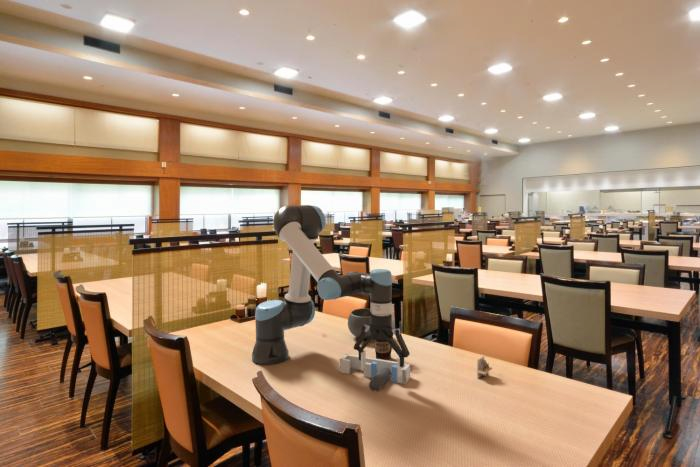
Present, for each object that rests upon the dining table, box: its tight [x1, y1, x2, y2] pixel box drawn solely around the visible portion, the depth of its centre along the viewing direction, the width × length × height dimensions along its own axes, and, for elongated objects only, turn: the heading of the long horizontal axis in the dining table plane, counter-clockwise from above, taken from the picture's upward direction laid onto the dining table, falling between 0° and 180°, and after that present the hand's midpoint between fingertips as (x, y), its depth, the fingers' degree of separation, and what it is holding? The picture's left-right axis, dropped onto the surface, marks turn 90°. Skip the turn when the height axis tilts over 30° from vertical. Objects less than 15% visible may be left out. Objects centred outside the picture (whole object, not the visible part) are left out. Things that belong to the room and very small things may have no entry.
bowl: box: [347, 307, 372, 340], centre depth 193 cm, size 18×18×13 cm
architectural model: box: [476, 355, 493, 379], centre depth 146 cm, size 3×7×7 cm, turn 138°
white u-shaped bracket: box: [339, 353, 411, 385], centre depth 149 cm, size 26×6×6 cm, turn 66°
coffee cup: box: [373, 333, 394, 361], centre depth 165 cm, size 9×8×13 cm
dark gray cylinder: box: [368, 367, 392, 392], centre depth 142 cm, size 12×4×4 cm, turn 155°
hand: (381, 372), depth 142 cm, fingers open, 13 cm apart
